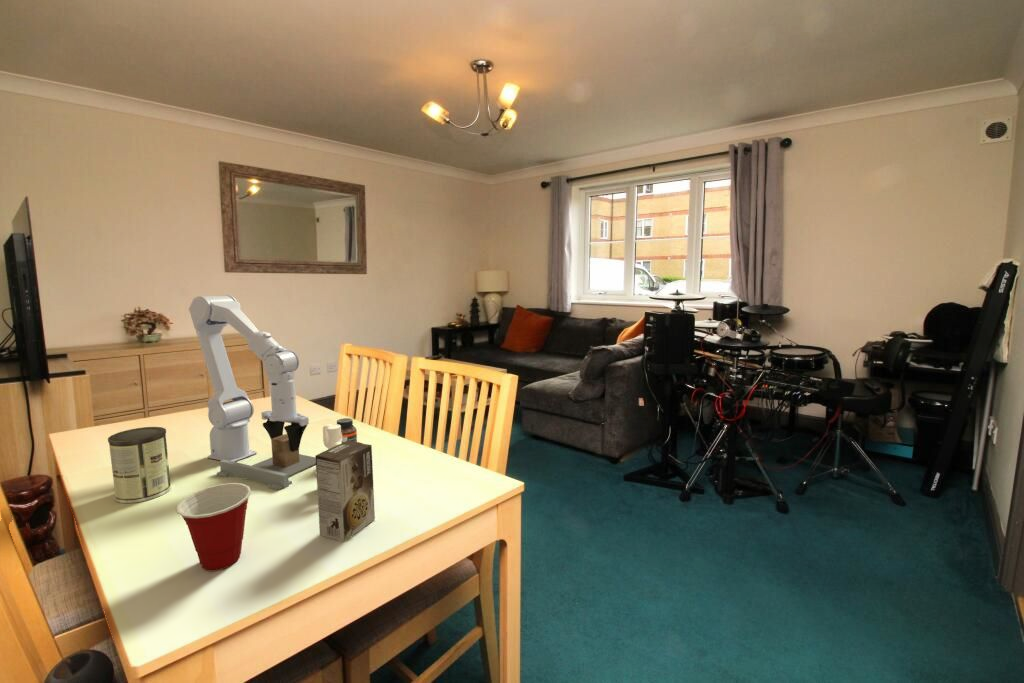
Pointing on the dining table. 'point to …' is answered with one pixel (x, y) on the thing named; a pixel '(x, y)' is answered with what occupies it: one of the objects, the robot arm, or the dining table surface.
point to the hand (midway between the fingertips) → (286, 448)
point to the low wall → (254, 474)
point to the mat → (291, 470)
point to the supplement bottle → (347, 430)
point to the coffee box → (345, 489)
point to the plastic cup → (216, 523)
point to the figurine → (332, 436)
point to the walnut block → (283, 452)
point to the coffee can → (139, 464)
